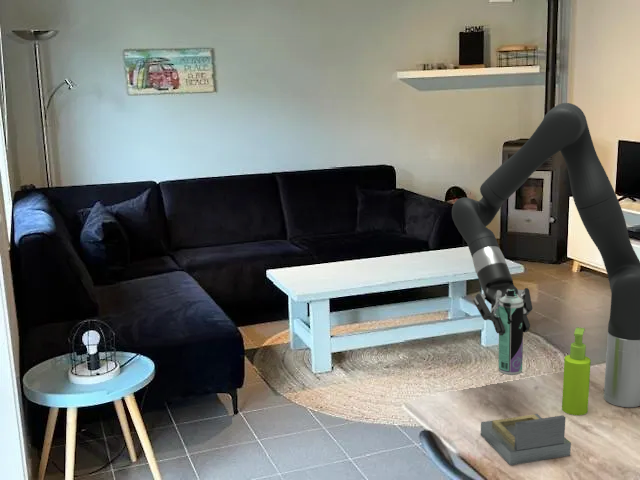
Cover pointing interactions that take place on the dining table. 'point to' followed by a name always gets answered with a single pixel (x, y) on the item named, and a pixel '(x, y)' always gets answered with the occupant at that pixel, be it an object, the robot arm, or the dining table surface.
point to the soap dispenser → (576, 377)
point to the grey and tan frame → (527, 438)
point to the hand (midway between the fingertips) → (514, 332)
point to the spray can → (511, 334)
